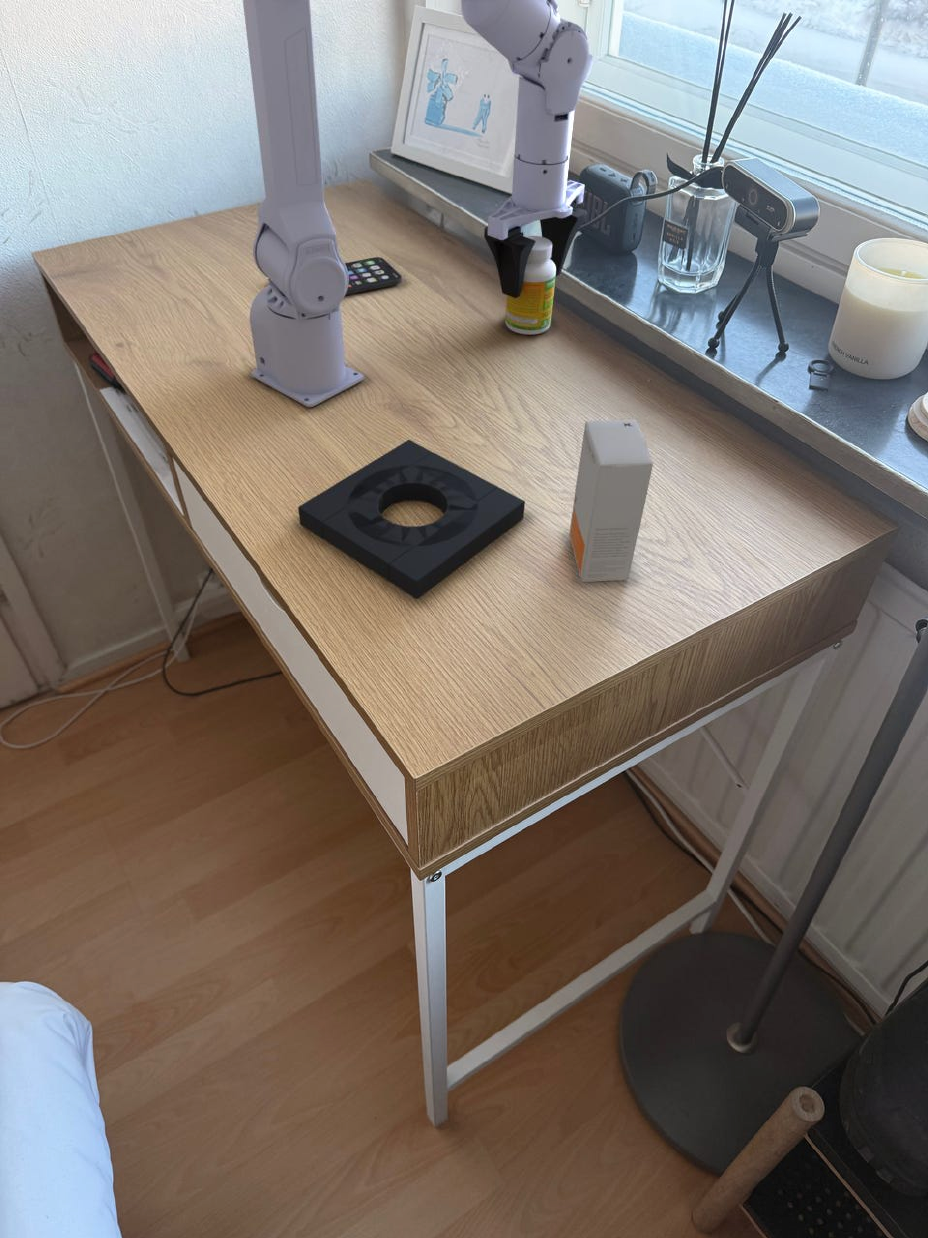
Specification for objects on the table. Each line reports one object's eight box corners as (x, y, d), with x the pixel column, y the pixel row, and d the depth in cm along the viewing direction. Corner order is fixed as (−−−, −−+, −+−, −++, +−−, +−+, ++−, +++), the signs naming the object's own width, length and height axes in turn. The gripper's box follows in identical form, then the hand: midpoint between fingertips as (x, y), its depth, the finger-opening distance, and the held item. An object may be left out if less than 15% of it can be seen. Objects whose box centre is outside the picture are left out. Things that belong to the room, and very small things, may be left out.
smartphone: (270, 277, 108) (380, 255, 113) (271, 282, 109) (380, 260, 114) (290, 302, 104) (404, 278, 109) (291, 307, 104) (404, 283, 109)
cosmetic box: (566, 536, 76) (584, 418, 67) (614, 535, 76) (637, 417, 68) (579, 584, 72) (599, 464, 63) (629, 582, 72) (656, 463, 63)
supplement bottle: (547, 338, 101) (555, 254, 94) (501, 332, 101) (506, 249, 94) (553, 317, 104) (561, 235, 98) (509, 311, 105) (514, 230, 98)
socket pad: (300, 524, 76) (297, 506, 75) (409, 456, 84) (409, 438, 82) (417, 599, 70) (416, 581, 68) (523, 518, 78) (525, 500, 76)
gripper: (529, 183, 84) (519, 316, 94) (613, 147, 92) (596, 273, 101) (474, 165, 87) (470, 295, 97) (559, 132, 95) (548, 256, 105)
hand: (531, 283), depth 99 cm, fingers open, 7 cm apart
